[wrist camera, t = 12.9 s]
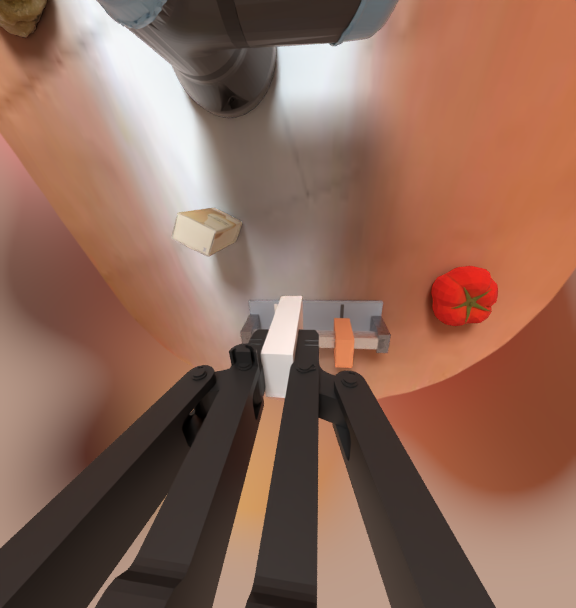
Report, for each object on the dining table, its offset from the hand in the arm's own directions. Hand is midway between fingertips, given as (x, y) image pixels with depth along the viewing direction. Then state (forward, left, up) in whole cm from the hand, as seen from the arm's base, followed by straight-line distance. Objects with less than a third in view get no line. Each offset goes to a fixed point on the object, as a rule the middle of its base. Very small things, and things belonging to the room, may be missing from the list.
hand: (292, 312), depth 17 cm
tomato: (+29, +7, -31) cm, 43 cm away
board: (+11, -14, -30) cm, 35 cm away
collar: (+16, -11, -26) cm, 33 cm away
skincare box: (-15, -7, -31) cm, 35 cm away
